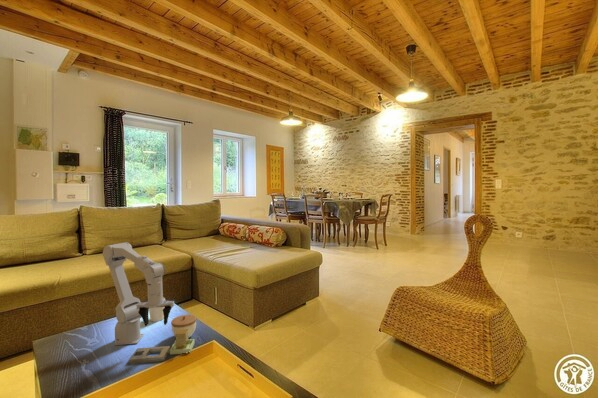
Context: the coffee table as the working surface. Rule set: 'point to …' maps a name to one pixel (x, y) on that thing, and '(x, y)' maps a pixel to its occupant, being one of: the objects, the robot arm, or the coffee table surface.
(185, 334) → the upright wooden block
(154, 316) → the white cup
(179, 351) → the parts tray
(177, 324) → the lidded jar
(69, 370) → the coffee table surface
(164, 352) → the grey rectangular frame
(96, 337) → the coffee table surface
